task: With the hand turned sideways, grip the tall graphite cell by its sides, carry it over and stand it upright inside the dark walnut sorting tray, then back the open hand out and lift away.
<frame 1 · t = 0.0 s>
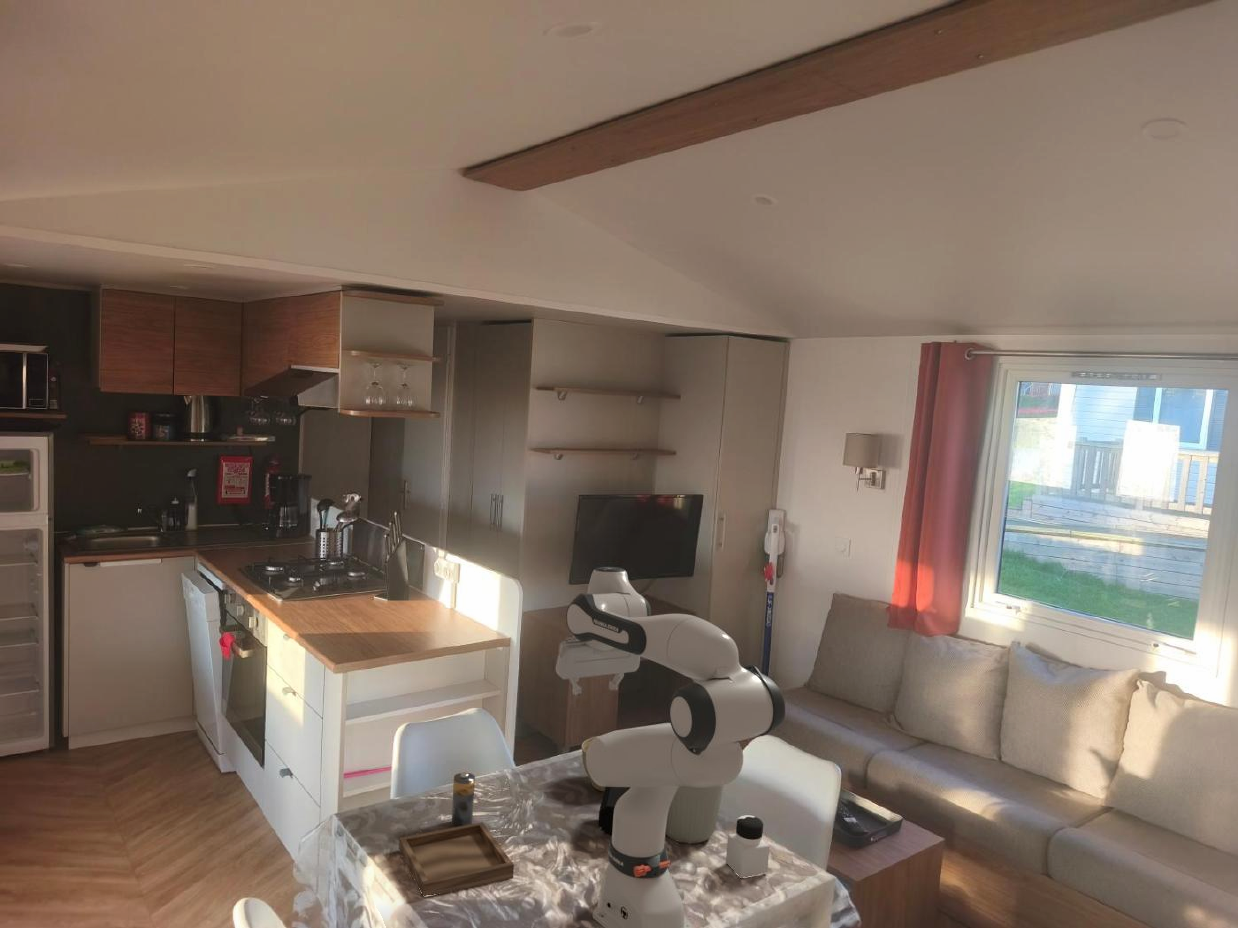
hand: (595, 691, 197), 39 cm above the table, tool pointing down, fingers open, 8 cm apart
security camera: (614, 830, 212), on the table
medicine bottle: (746, 869, 199), on the table
sorting tray: (454, 863, 192), on the table
cell: (461, 824, 210), on the table
canister: (686, 833, 213), on the table
planter bowl: (608, 785, 236), on the table
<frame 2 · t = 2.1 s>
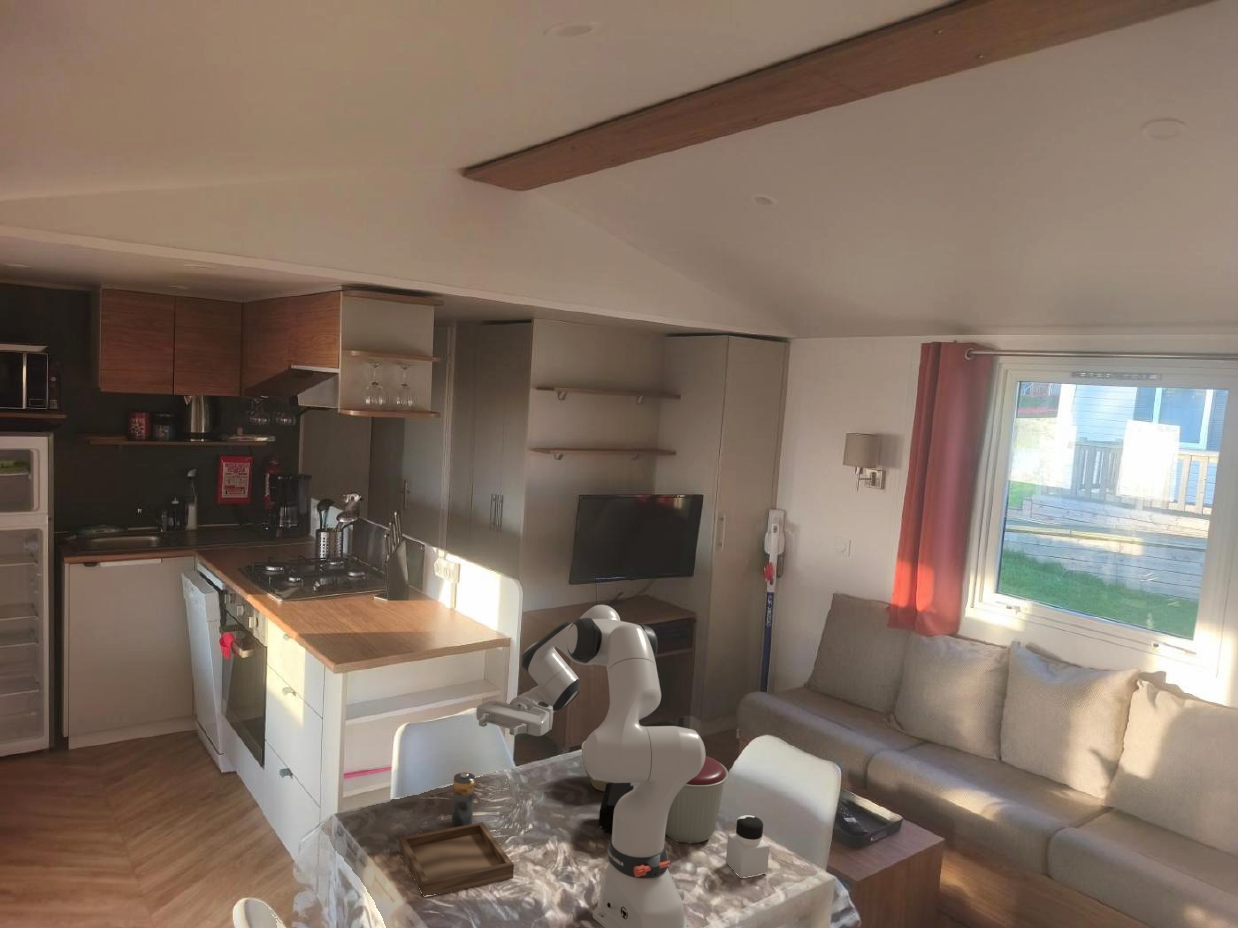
hand: (496, 727, 220), 20 cm above the table, tool horizontal, fingers open, 8 cm apart
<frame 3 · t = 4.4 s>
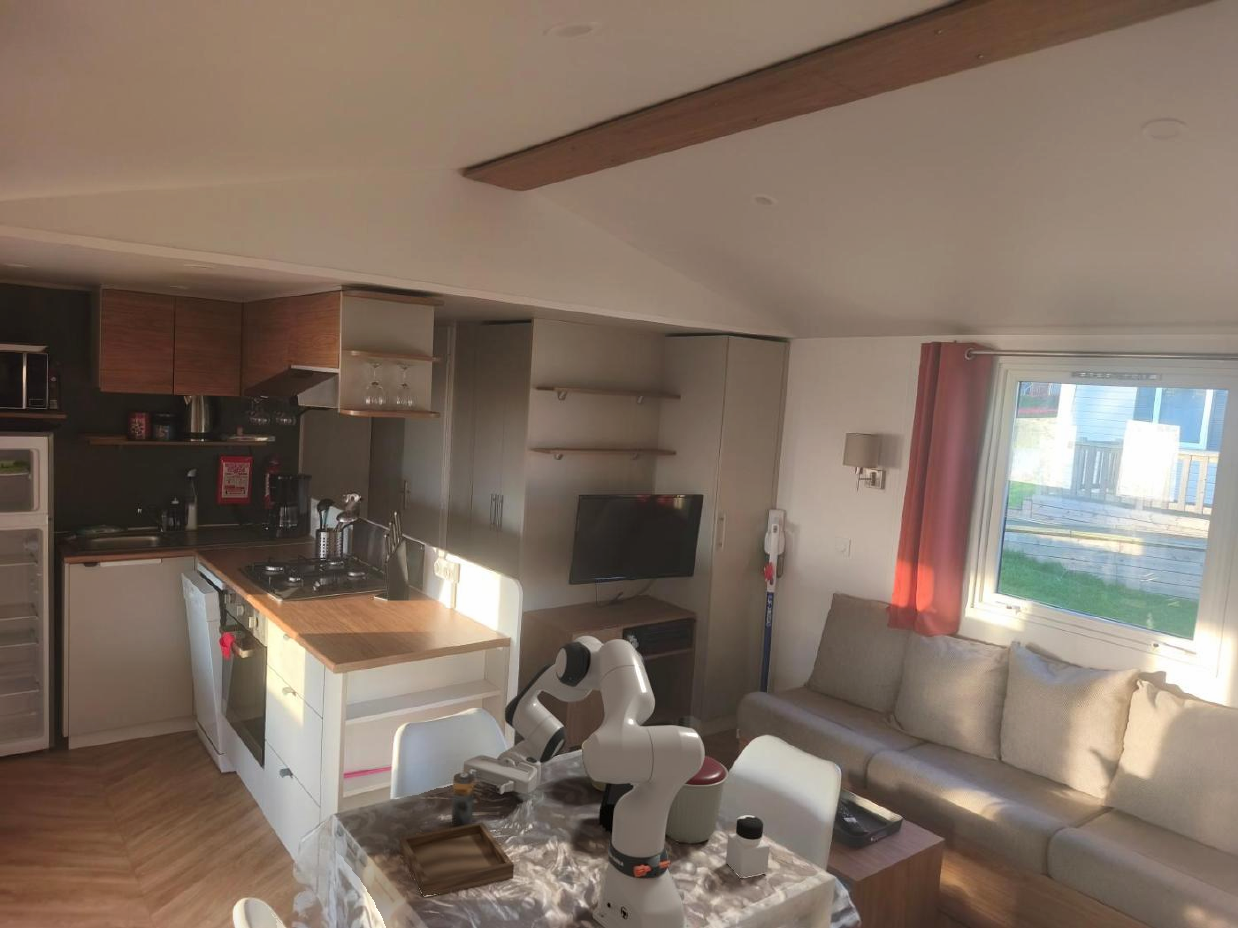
hand: (482, 785, 216), 7 cm above the table, tool horizontal, fingers open, 8 cm apart
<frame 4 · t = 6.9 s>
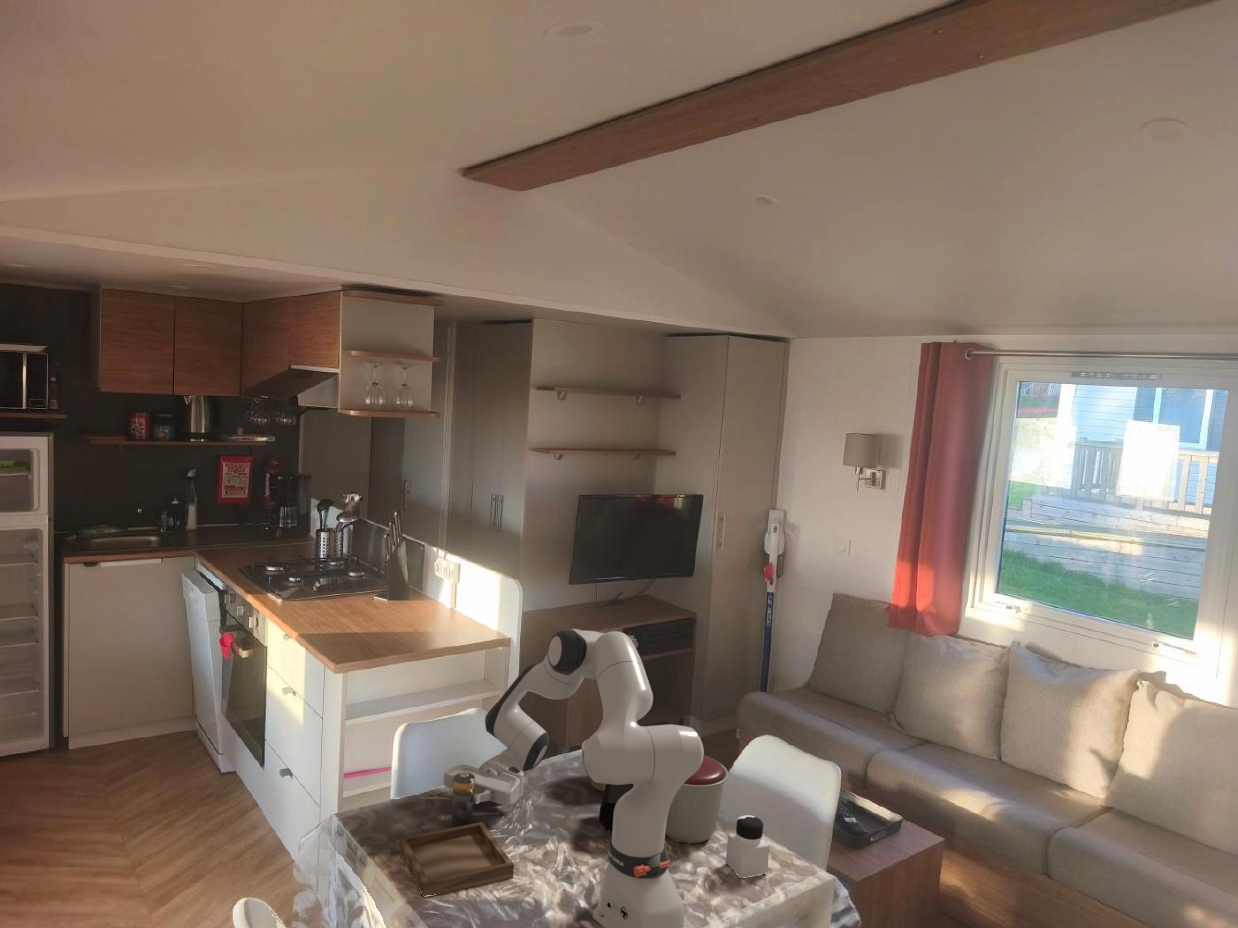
hand: (463, 796, 209), 7 cm above the table, tool horizontal, fingers closed on cell, 5 cm apart
cell: (461, 824, 210), on the table, touching gripper
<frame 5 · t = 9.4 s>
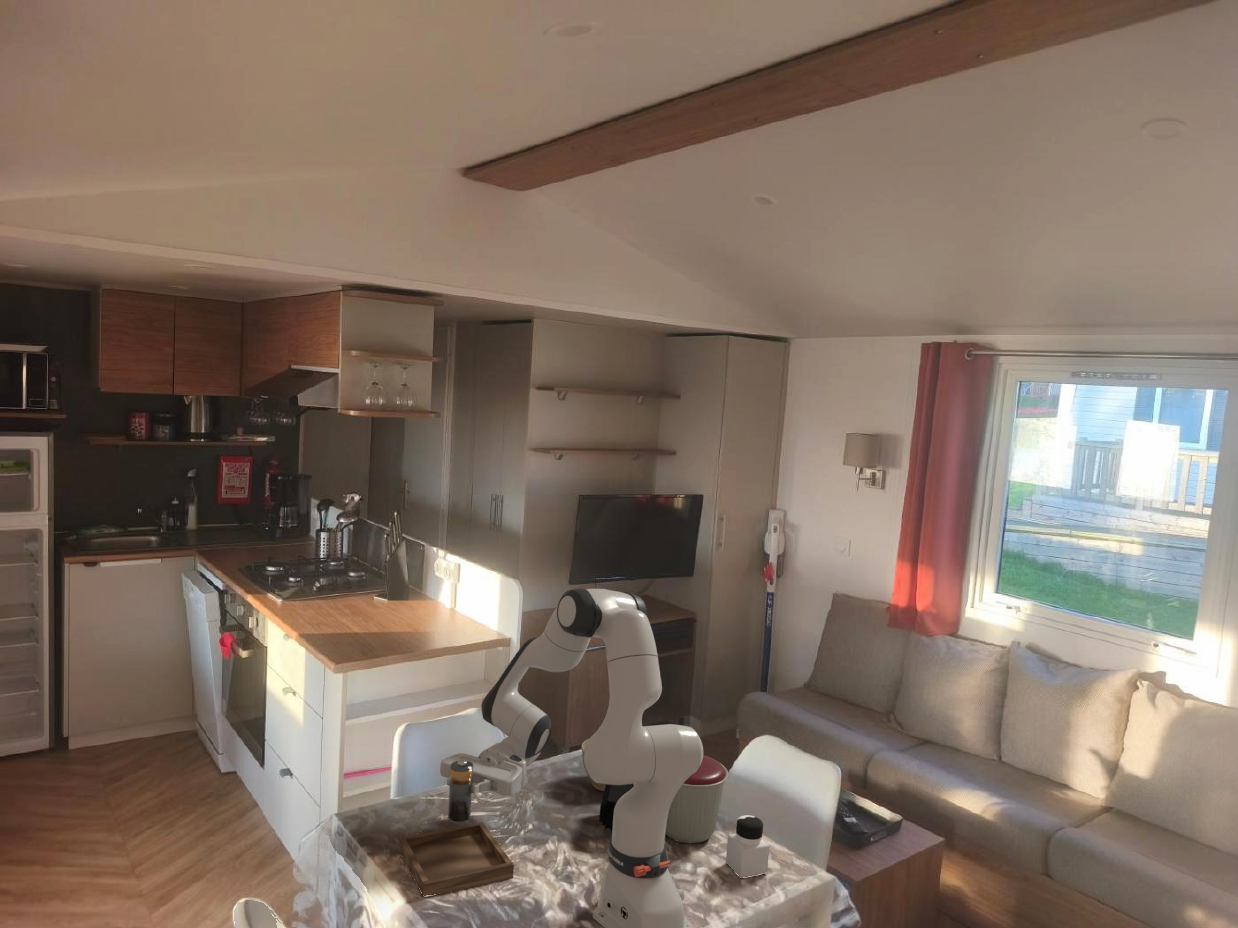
hand: (460, 786, 194), 17 cm above the table, tool horizontal, fingers closed on cell, 5 cm apart
cell: (459, 816, 195), point 10 cm above the table, touching gripper
when the fingers open (9 cm above the table, at t = 11.9 s): cell drops 1 cm, resting on sorting tray.
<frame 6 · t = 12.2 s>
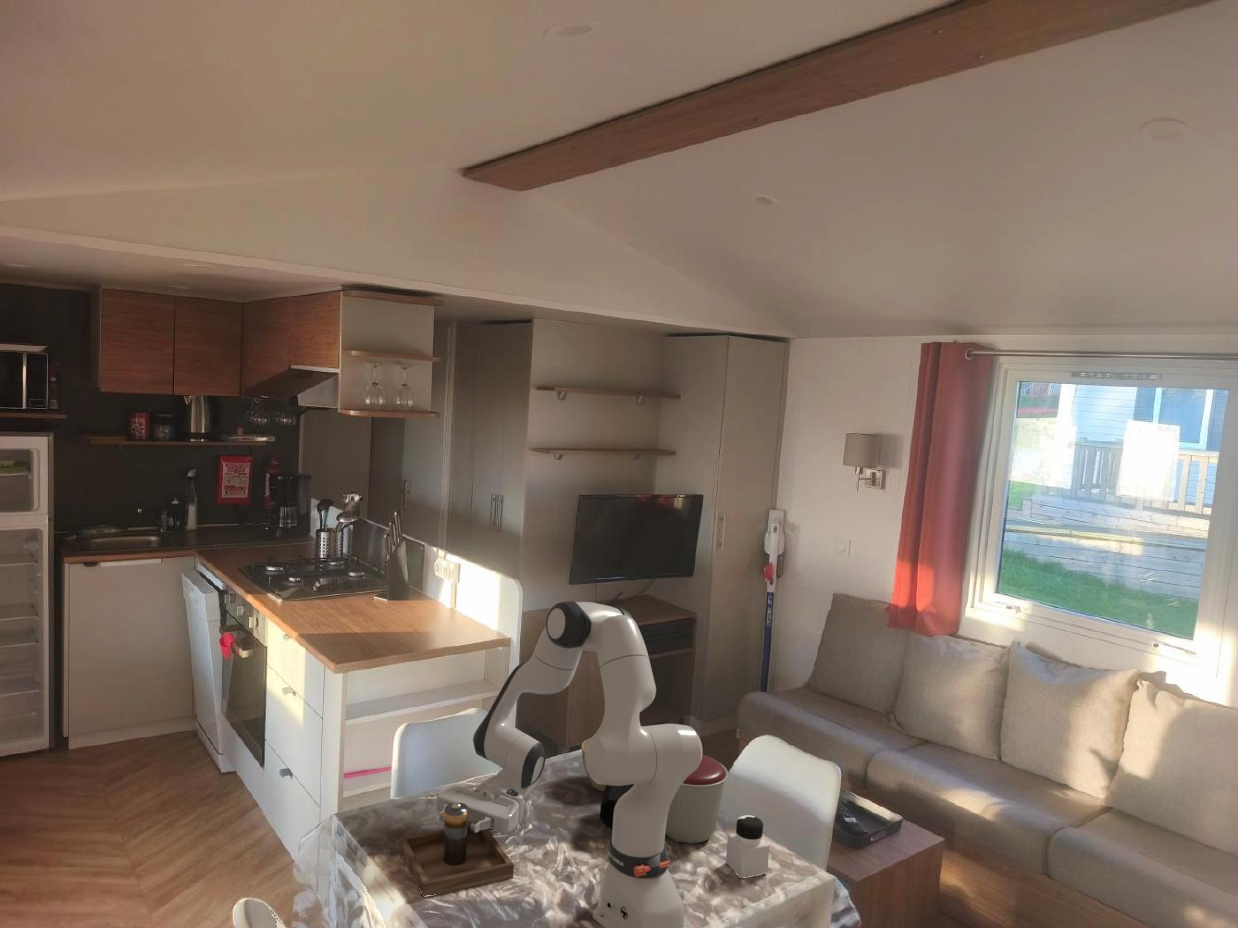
hand: (456, 823, 192), 9 cm above the table, tool horizontal, fingers open, 7 cm apart
cell: (455, 858, 192), point 1 cm above the table, touching sorting tray
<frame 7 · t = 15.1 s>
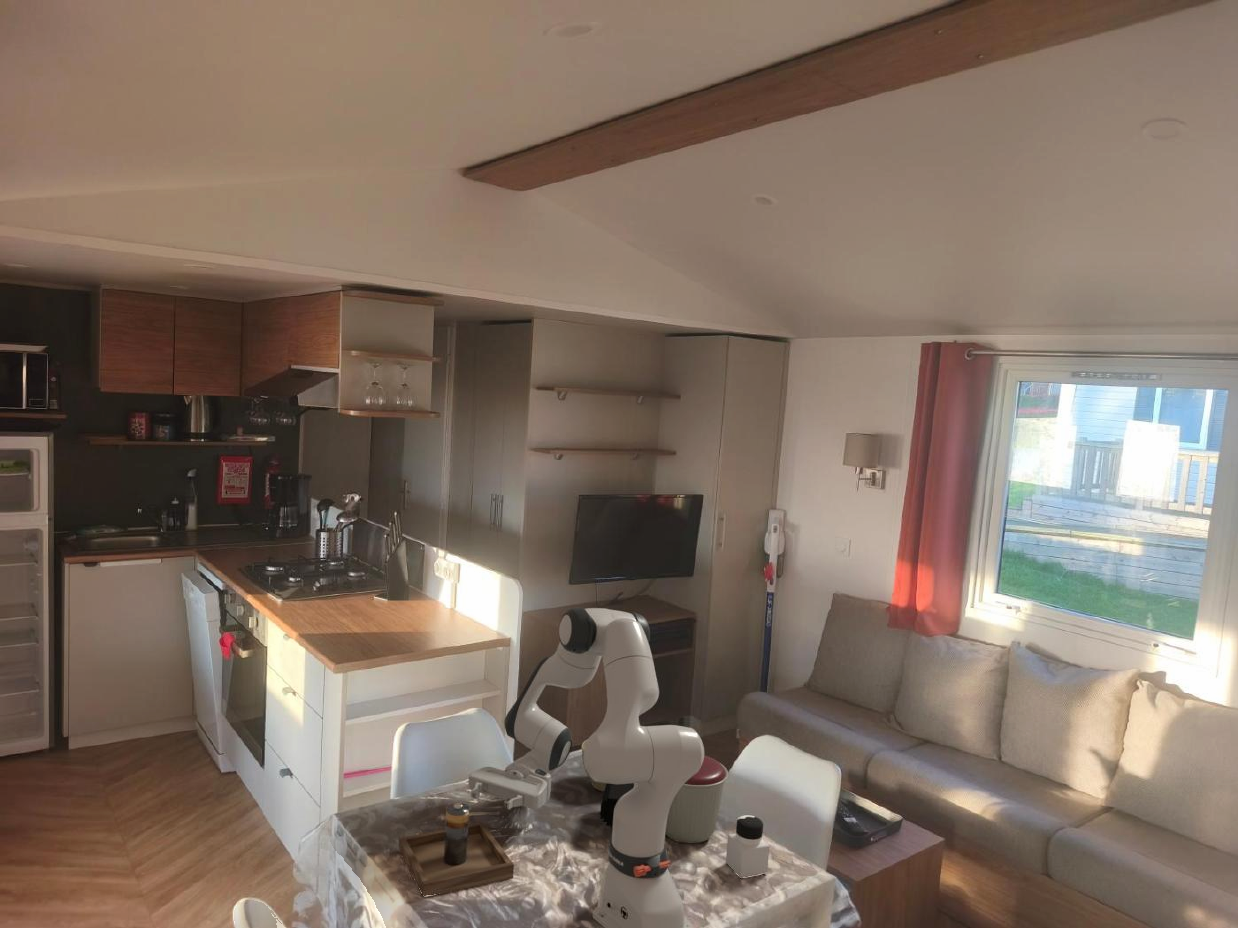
hand: (489, 799, 203), 10 cm above the table, tool horizontal, fingers open, 8 cm apart
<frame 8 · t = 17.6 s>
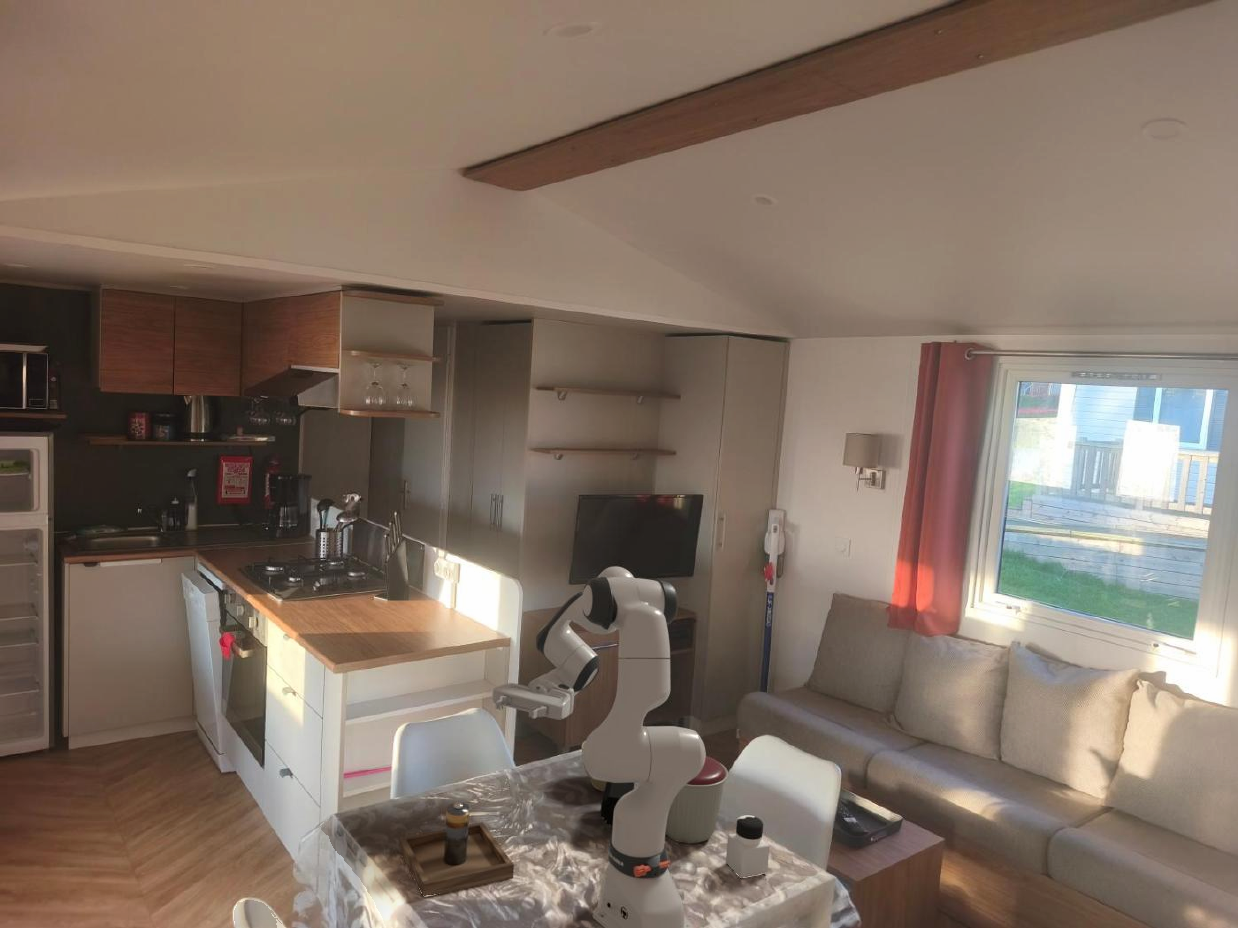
hand: (514, 710, 206), 30 cm above the table, tool horizontal, fingers open, 8 cm apart
at the end: cell inside the target area on the sorting tray (0.0 cm from its centre), point 1.0 cm above the sorting tray's base; cell tilted 0°; the gripper is holding nothing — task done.
